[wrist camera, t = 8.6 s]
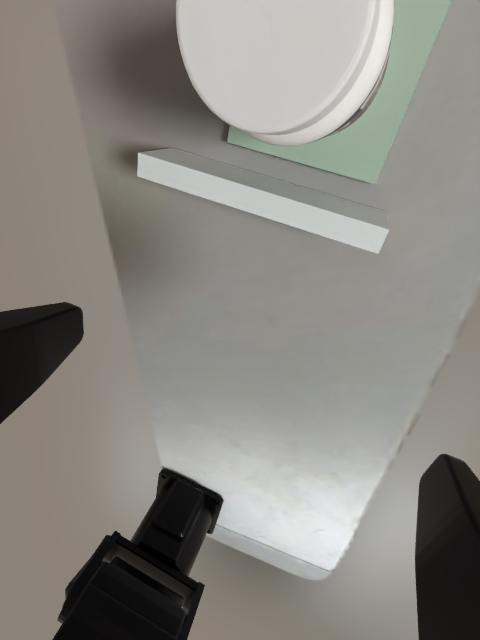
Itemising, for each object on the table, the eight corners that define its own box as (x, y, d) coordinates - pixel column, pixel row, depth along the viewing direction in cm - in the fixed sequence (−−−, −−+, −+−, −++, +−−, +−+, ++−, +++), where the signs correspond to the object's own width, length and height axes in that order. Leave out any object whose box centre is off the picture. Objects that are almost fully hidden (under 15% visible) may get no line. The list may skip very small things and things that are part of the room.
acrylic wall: (378, 233, 16) (378, 253, 13) (170, 168, 18) (137, 176, 15) (388, 212, 15) (389, 229, 13) (172, 147, 17) (138, 152, 15)
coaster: (375, 183, 15) (375, 184, 15) (230, 141, 16) (226, 142, 16) (467, -40, 11) (469, -44, 11) (266, -72, 12) (262, -77, 12)
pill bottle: (257, 128, 15) (156, 138, 8) (275, -18, 13) (150, -173, 6) (366, 145, 14) (351, 172, 7) (410, -11, 11) (449, -191, 5)
